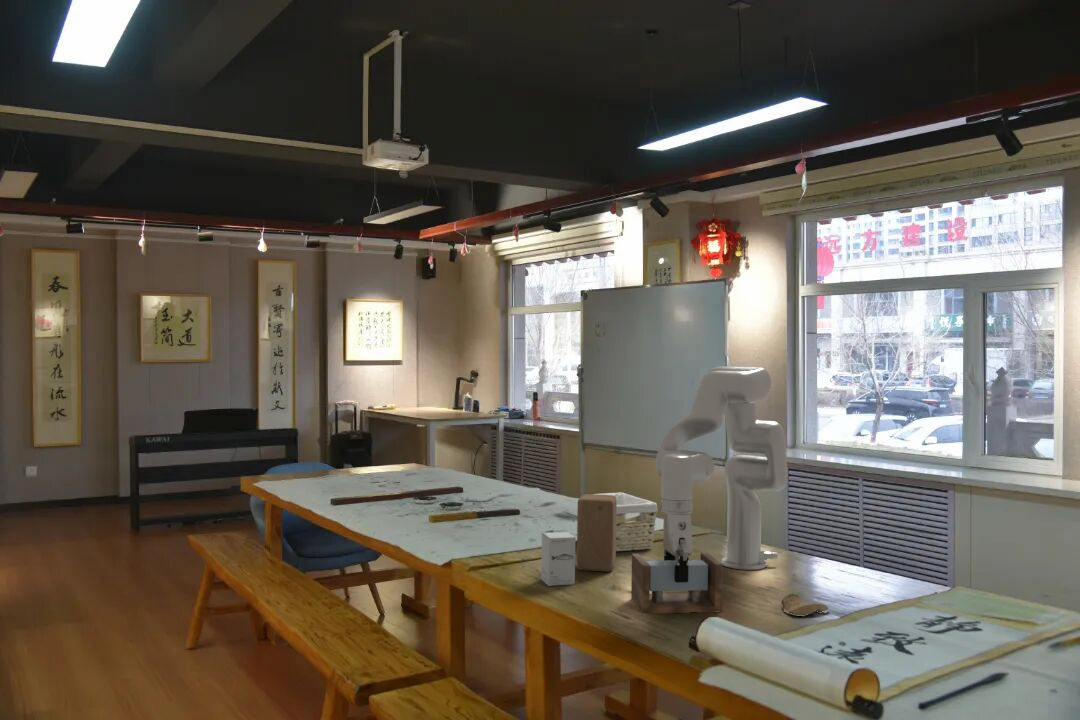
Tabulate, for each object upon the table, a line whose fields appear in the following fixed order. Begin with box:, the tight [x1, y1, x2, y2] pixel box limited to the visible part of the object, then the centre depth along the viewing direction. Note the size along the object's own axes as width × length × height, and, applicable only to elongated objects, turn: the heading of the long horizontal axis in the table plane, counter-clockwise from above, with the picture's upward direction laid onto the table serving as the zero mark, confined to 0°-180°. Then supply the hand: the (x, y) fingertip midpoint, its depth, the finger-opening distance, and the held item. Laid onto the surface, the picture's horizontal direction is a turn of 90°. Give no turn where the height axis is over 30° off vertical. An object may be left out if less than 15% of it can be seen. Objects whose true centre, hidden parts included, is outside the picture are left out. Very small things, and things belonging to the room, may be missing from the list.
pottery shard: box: [781, 593, 829, 616], centre depth 206 cm, size 11×4×10 cm
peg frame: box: [630, 552, 723, 614], centre depth 209 cm, size 19×12×11 cm, turn 96°
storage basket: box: [595, 491, 658, 552], centre depth 276 cm, size 24×16×15 cm
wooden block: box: [576, 493, 617, 573], centre depth 245 cm, size 10×10×20 cm
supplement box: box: [540, 531, 576, 587], centre depth 229 cm, size 7×7×13 cm
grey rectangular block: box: [645, 559, 708, 592], centre depth 209 cm, size 14×5×6 cm, turn 96°
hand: (675, 576), depth 209 cm, fingers open, 9 cm apart
